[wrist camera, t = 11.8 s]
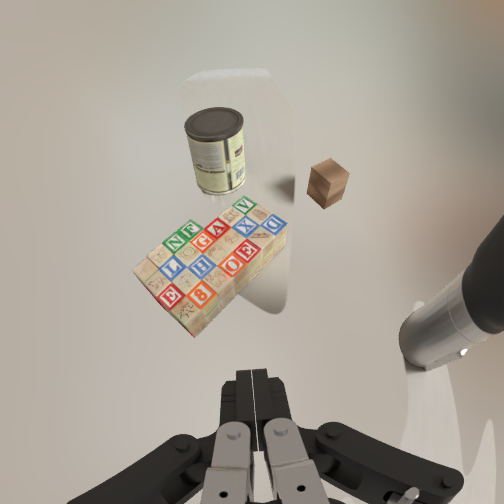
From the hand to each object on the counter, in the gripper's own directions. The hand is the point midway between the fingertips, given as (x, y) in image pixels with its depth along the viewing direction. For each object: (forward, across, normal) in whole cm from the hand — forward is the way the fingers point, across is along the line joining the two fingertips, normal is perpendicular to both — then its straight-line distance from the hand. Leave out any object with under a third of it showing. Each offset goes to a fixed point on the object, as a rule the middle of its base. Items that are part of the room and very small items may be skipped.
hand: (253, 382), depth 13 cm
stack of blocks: (+28, 0, -4) cm, 28 cm away
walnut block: (+43, +17, +6) cm, 47 cm away
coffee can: (+48, -4, +11) cm, 50 cm away
